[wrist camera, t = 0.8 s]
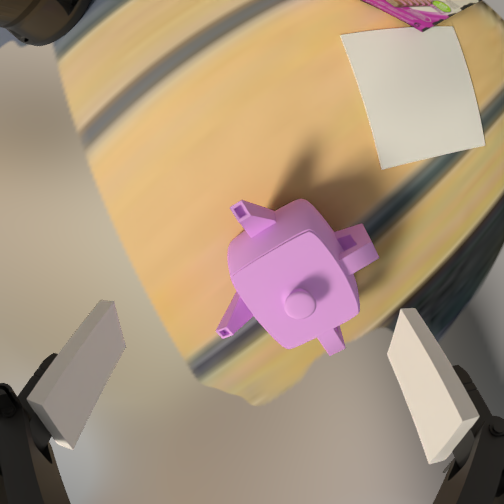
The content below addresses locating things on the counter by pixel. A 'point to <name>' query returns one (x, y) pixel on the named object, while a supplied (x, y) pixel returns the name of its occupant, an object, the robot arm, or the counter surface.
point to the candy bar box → (421, 10)
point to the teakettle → (294, 274)
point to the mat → (415, 92)
